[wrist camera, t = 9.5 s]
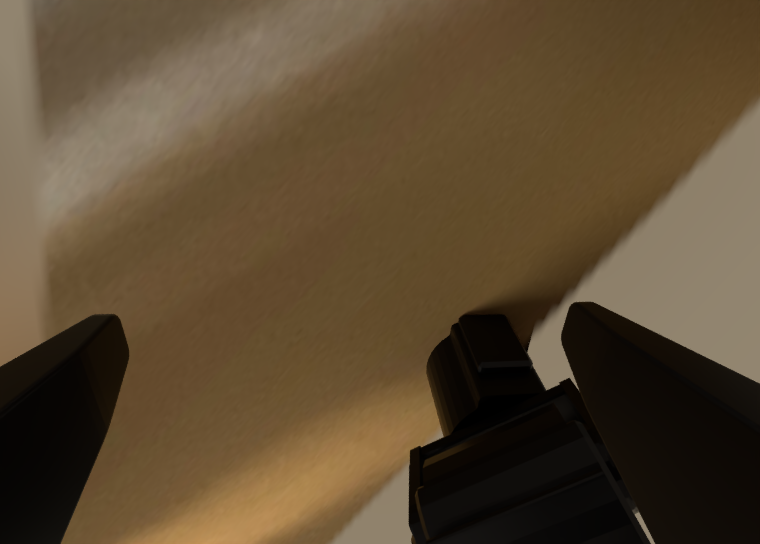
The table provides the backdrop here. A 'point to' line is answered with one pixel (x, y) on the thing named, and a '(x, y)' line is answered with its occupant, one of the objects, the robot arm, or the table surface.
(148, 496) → the table surface
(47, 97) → the table surface
